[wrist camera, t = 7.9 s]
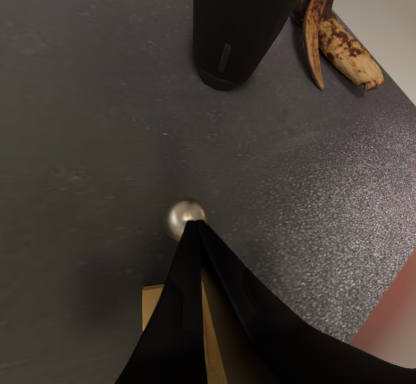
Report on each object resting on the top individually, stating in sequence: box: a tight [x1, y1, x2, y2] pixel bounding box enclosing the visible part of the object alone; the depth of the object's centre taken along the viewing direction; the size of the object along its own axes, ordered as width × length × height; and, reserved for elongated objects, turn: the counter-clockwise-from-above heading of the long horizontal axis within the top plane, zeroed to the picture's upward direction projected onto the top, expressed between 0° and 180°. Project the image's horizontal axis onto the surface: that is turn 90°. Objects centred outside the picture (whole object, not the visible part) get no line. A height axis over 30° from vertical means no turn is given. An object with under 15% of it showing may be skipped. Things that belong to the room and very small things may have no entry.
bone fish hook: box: [293, 0, 384, 91], centre depth 25 cm, size 9×5×18 cm
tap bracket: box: [142, 279, 227, 384], centre depth 13 cm, size 10×8×9 cm
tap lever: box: [163, 197, 220, 384], centre depth 12 cm, size 14×4×4 cm, turn 5°
